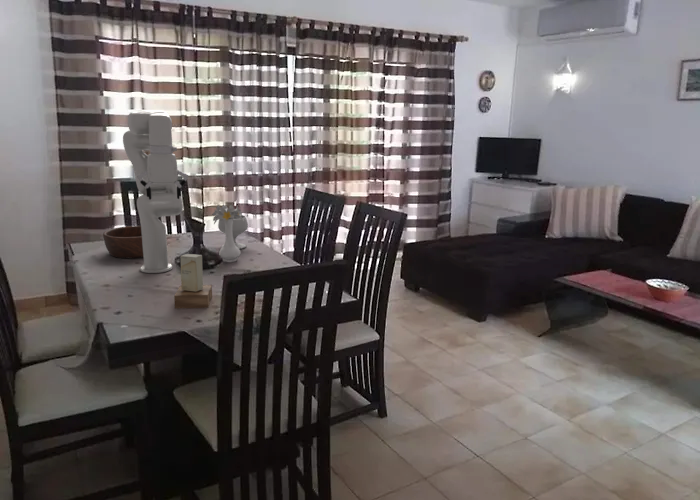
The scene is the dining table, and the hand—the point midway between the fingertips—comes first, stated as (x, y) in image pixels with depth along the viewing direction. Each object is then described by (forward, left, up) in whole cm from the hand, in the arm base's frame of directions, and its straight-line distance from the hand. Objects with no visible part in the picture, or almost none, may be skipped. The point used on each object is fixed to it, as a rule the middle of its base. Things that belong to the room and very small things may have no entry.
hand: (164, 198), depth 199 cm
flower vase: (-34, +24, -34) cm, 54 cm away
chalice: (-57, +28, -34) cm, 72 cm away
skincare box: (+18, +8, -29) cm, 35 cm away
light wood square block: (+18, +9, -34) cm, 40 cm away
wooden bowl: (-55, -17, -34) cm, 67 cm away
